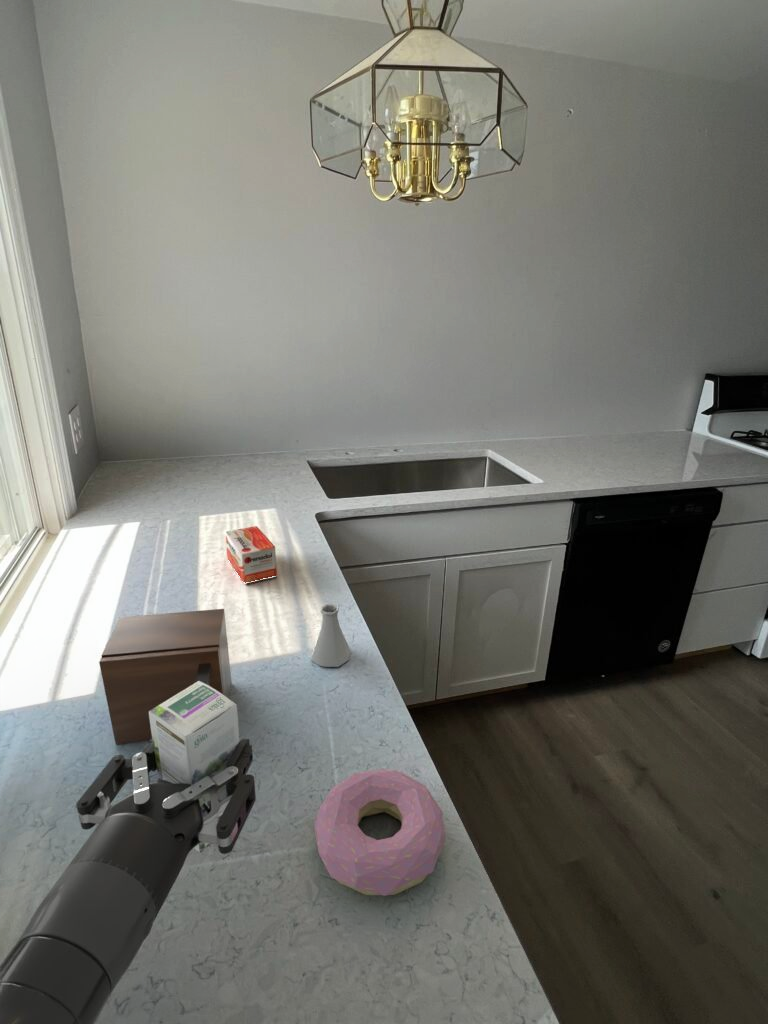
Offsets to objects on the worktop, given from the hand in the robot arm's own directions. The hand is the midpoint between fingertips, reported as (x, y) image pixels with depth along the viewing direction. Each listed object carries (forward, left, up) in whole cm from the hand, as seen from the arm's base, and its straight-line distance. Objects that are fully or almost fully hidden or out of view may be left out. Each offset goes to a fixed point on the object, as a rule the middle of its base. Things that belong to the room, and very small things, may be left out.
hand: (207, 739), depth 55 cm
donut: (+18, +1, -20) cm, 27 cm away
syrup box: (-1, -2, -9) cm, 9 cm away
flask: (+16, +39, -20) cm, 47 cm away
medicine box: (+1, +77, -20) cm, 79 cm away
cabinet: (-9, +29, -19) cm, 36 cm away
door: (-9, +20, -19) cm, 30 cm away
